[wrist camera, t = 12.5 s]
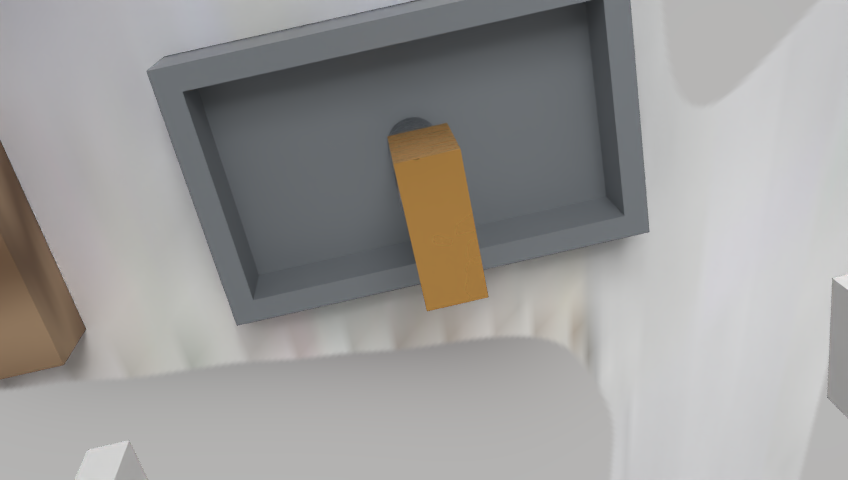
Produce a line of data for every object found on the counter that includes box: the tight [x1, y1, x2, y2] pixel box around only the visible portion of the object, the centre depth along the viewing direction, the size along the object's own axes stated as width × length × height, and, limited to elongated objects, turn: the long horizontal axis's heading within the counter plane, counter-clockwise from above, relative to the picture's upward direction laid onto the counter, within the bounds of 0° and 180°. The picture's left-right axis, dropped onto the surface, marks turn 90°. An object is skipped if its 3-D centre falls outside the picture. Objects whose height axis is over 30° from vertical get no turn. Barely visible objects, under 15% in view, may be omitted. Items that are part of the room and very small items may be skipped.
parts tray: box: [147, 0, 649, 326], centre depth 31 cm, size 11×18×3 cm, turn 102°
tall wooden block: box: [387, 117, 488, 311], centre depth 27 cm, size 5×2×10 cm, turn 11°
